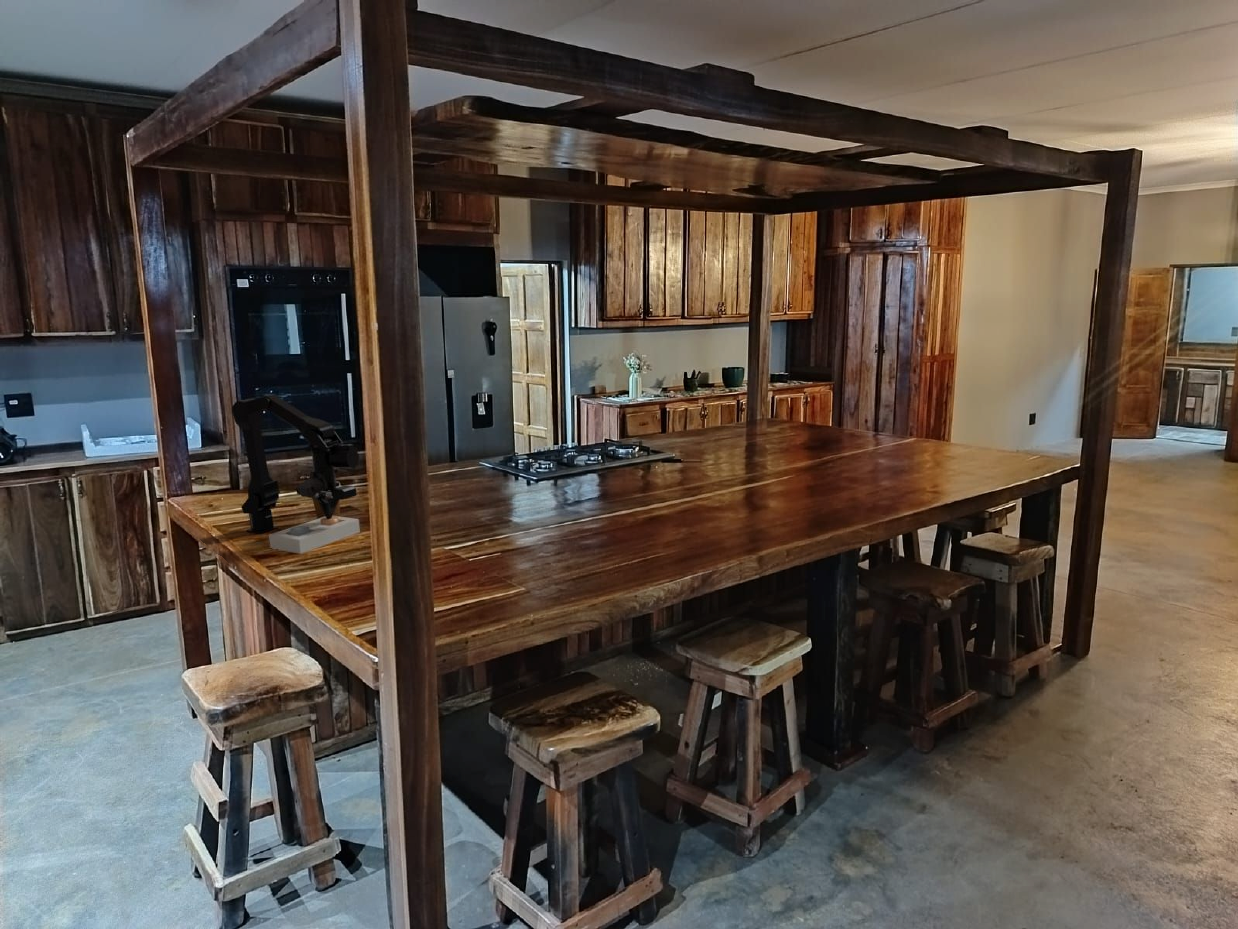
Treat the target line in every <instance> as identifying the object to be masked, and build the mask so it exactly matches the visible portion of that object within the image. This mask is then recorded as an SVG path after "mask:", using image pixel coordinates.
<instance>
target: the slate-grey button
mask: <svg viewBox="0 0 1238 929" xmlns="http://www.w3.org/2000/svg"><path fill="white" fill-rule="evenodd" d="M293 527H294V526H293ZM290 528H291V527H290ZM307 533H309V527H307V526H298V527H294V528H291V529H290V535H294V536H301V535H304V534H307Z"/></svg>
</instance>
